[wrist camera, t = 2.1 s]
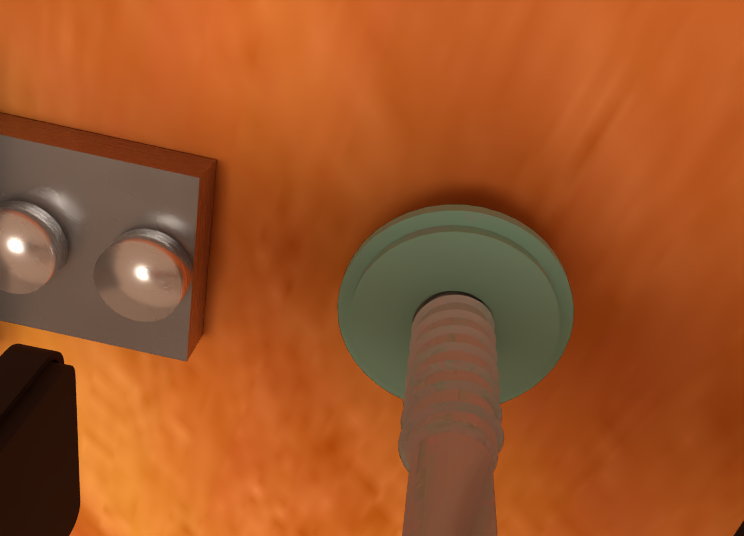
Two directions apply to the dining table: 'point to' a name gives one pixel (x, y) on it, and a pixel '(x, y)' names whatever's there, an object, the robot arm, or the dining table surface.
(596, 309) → the dining table surface
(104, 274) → the riveted metal bracket
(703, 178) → the dining table surface
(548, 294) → the screw
